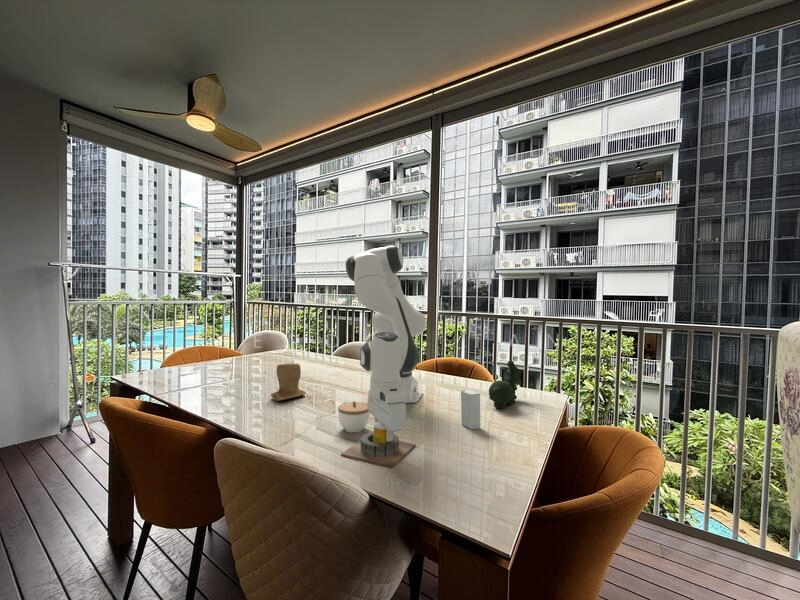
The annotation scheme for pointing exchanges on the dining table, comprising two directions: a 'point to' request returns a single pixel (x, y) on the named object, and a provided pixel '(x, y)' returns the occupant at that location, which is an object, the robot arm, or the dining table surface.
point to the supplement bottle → (379, 432)
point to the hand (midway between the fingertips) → (384, 436)
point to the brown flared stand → (288, 382)
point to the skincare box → (470, 409)
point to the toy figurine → (504, 388)
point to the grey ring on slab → (379, 450)
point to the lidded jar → (353, 416)
